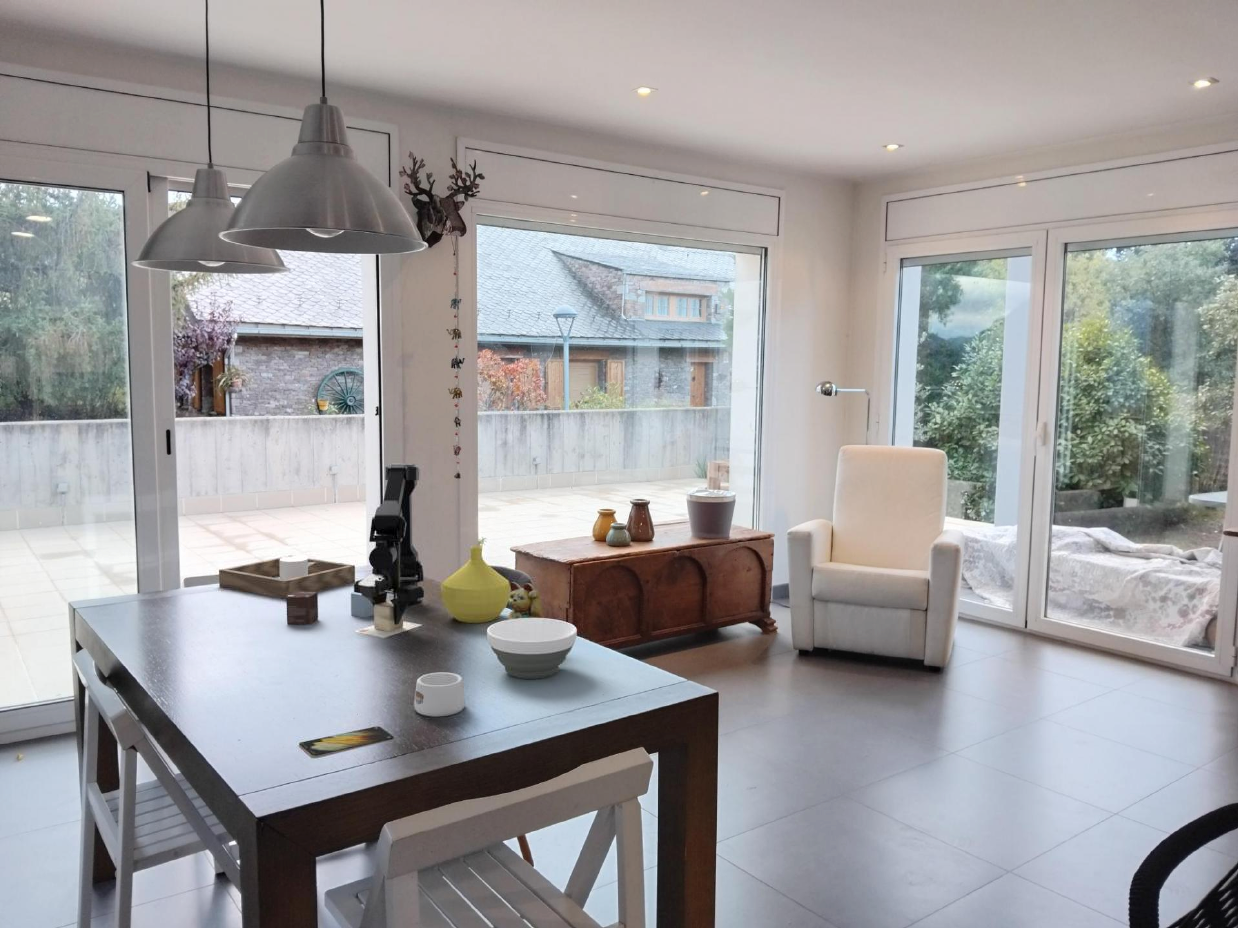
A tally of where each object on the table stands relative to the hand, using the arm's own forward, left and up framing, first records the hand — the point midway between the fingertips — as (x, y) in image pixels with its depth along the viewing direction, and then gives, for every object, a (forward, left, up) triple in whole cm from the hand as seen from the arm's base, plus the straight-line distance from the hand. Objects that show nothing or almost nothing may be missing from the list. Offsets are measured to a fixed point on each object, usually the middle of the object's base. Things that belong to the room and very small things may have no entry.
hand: (388, 622), depth 241 cm
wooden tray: (-21, -60, -2) cm, 64 cm away
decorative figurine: (-9, +36, -2) cm, 37 cm away
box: (+7, -23, -2) cm, 24 cm away
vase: (-20, +12, -2) cm, 23 cm away
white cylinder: (-22, -59, -2) cm, 63 cm away
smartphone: (+59, +45, -2) cm, 74 cm away
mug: (+37, +47, -2) cm, 60 cm away
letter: (0, 0, -2) cm, 2 cm away
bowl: (+9, +50, -2) cm, 51 cm away
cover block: (0, 0, -1) cm, 1 cm away
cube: (-7, -15, -2) cm, 17 cm away
